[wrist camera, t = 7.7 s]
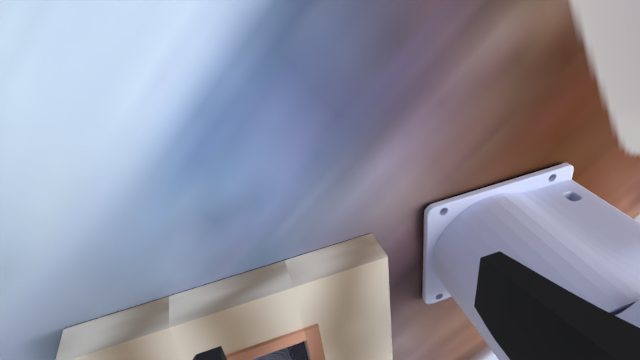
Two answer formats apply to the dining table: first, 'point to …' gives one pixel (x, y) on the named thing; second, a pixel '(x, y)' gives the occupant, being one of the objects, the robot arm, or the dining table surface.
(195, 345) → the hole plate
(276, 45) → the dining table surface
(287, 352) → the knob
